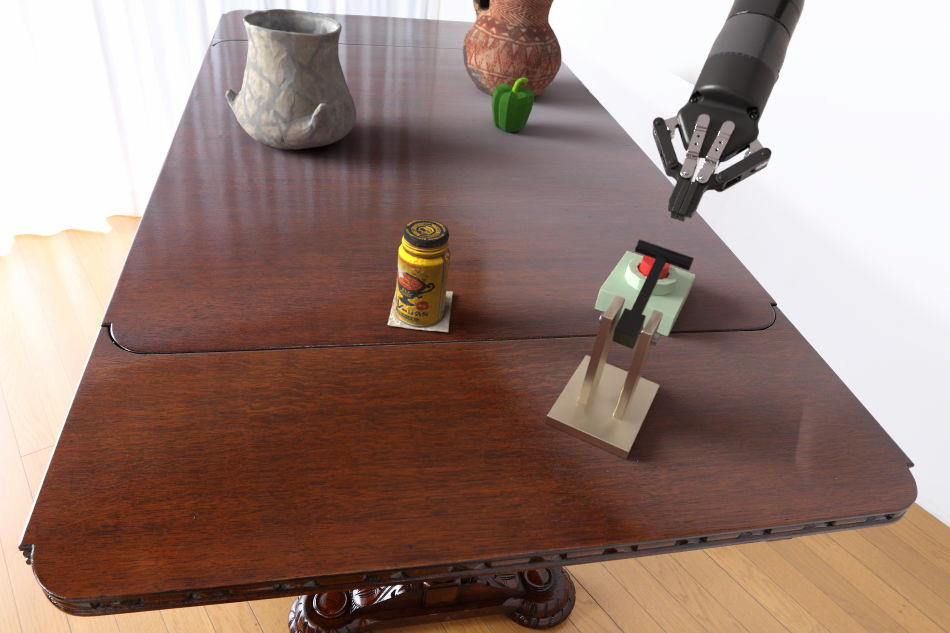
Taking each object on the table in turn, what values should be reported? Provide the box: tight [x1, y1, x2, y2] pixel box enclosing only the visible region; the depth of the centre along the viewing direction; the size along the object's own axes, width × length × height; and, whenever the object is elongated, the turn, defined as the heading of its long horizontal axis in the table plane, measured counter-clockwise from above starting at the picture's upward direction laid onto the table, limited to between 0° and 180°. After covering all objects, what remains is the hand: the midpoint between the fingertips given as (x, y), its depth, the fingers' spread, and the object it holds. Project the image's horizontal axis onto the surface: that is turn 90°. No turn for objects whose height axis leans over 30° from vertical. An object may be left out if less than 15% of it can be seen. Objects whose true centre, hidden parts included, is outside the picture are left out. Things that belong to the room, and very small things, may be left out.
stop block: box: [594, 250, 696, 337], centre depth 91 cm, size 12×10×5 cm
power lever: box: [612, 239, 695, 350], centre depth 70 cm, size 12×6×2 cm, turn 152°
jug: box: [461, 0, 562, 97], centre depth 148 cm, size 22×21×25 cm
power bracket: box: [544, 295, 663, 460], centre depth 71 cm, size 12×9×13 cm
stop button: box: [639, 255, 671, 279], centre depth 89 cm, size 4×4×2 cm
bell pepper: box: [491, 77, 535, 133], centre depth 134 cm, size 8×8×10 cm
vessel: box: [224, 8, 357, 150], centre depth 115 cm, size 22×22×20 cm
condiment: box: [387, 218, 454, 333], centre depth 81 cm, size 7×8×12 cm
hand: (677, 217), depth 70 cm, fingers closed
